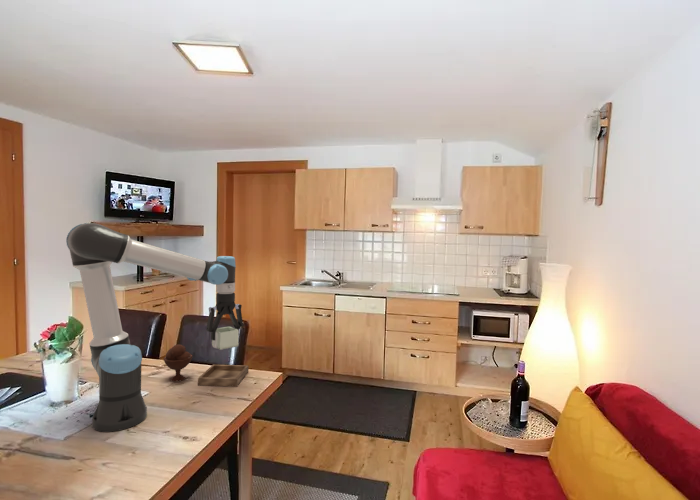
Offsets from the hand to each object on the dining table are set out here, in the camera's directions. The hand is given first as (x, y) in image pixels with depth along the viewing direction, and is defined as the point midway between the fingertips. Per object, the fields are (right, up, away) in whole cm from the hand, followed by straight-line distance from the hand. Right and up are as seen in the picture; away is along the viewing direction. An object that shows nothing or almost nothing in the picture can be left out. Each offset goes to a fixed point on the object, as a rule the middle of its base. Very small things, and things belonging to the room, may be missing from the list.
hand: (225, 345), depth 156 cm
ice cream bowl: (-19, -14, -1) cm, 24 cm away
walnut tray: (0, -14, 0) cm, 14 cm away
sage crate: (0, 0, 0) cm, 0 cm away
